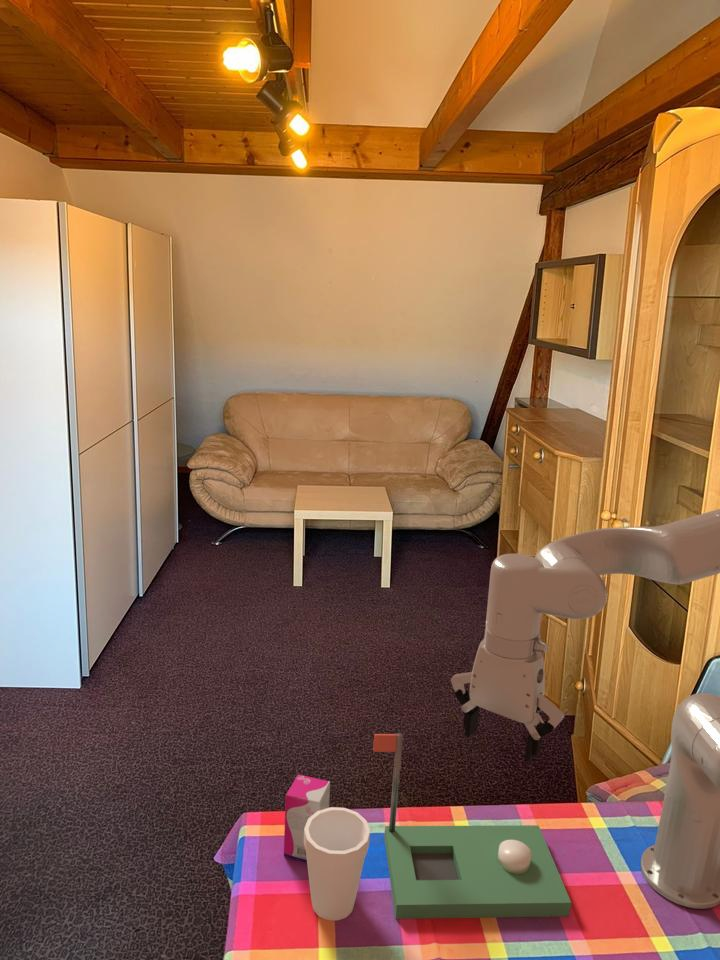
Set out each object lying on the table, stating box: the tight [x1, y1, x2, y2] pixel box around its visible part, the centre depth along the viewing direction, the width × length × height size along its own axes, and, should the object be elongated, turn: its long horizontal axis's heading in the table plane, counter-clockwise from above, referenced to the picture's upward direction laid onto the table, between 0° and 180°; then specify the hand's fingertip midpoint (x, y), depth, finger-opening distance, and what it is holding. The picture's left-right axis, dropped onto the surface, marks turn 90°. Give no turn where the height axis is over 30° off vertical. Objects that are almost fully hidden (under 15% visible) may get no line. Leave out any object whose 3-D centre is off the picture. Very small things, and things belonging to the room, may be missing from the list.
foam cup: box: [304, 806, 371, 922], centre depth 110 cm, size 10×9×13 cm
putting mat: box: [372, 732, 572, 920], centre depth 115 cm, size 29×16×20 cm, turn 94°
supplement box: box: [283, 774, 331, 863], centre depth 120 cm, size 6×6×12 cm
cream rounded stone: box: [498, 840, 531, 874], centre depth 118 cm, size 5×5×2 cm
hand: (500, 744), depth 111 cm, fingers open, 9 cm apart
